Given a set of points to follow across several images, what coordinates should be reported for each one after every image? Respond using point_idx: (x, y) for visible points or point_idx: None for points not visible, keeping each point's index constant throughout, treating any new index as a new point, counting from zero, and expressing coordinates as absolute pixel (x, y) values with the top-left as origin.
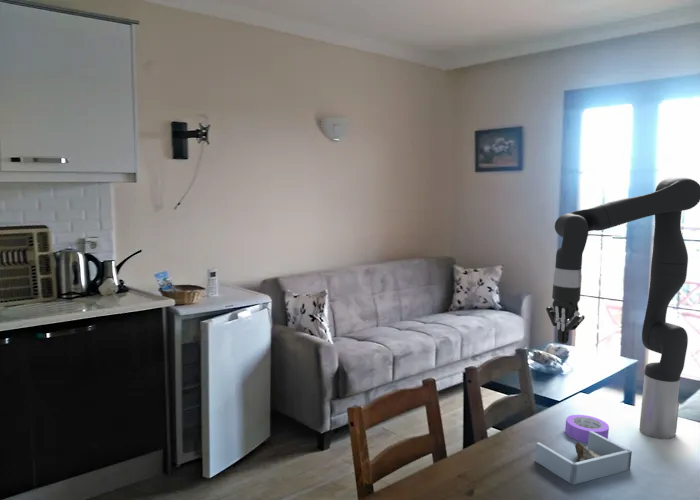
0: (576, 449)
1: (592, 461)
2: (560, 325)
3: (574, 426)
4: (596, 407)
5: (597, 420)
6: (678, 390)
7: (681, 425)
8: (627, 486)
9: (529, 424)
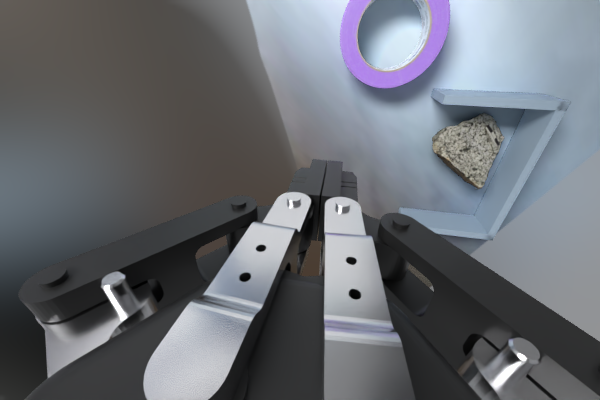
0: (444, 162)
1: (510, 206)
2: (304, 263)
3: (387, 87)
4: None
5: None
6: None
7: None
8: (556, 155)
9: (295, 117)
